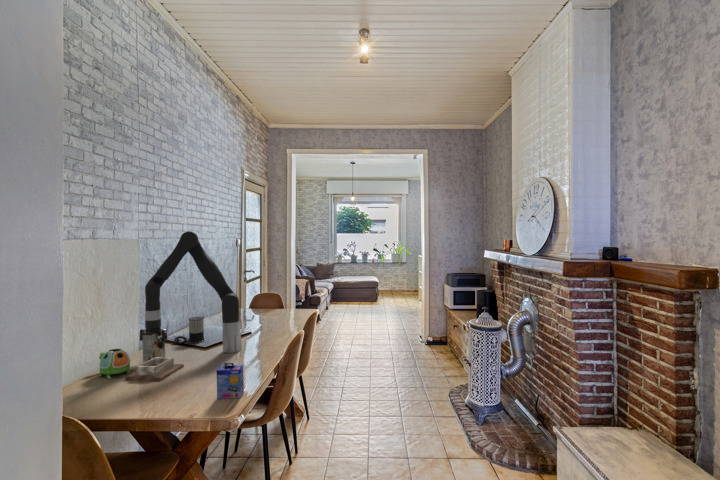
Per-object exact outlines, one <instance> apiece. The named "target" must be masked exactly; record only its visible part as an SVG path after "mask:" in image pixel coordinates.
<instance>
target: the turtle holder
mask: <svg viewBox="0 0 720 480" xmlns="http://www.w3.org/2000/svg"><path fill="white" fill-rule="evenodd" d="M98 358H99V364H98V365H99V373H100V374H99V377H100V378H101V377H103V376H104V375H106V378H107V379H109V380H110V379H112V378H113V377H112V376H111V375H118V374H122V373H124V372H125V373H126V374H127V373H129V374H131V372H130V370H129V369H130V368H131V359H130V356H129V354H128V352H126V351H125V350H124V349H123V348H118V347H116V348H110V349H108V350H106V352H104V351H103V352H101V353H100V354H99V356H98Z"/></svg>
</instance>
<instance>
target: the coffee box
mask: <svg viewBox="0 0 720 480" xmlns="http://www.w3.org/2000/svg"><path fill="white" fill-rule="evenodd" d="M157 335H158V336H161V335H162V333H159V334H158V333H152V332H151V333H148V332H147V333H146V332H145V333H144V334H142V340H141V342H142V363H144V362H146V361H148V360H150V359H152V358H154V357H164V358H166V348H165V347H166V344H165V341H166V340H165V341H164V347H163V348H162V349H159V340H158V339H157Z"/></svg>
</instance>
